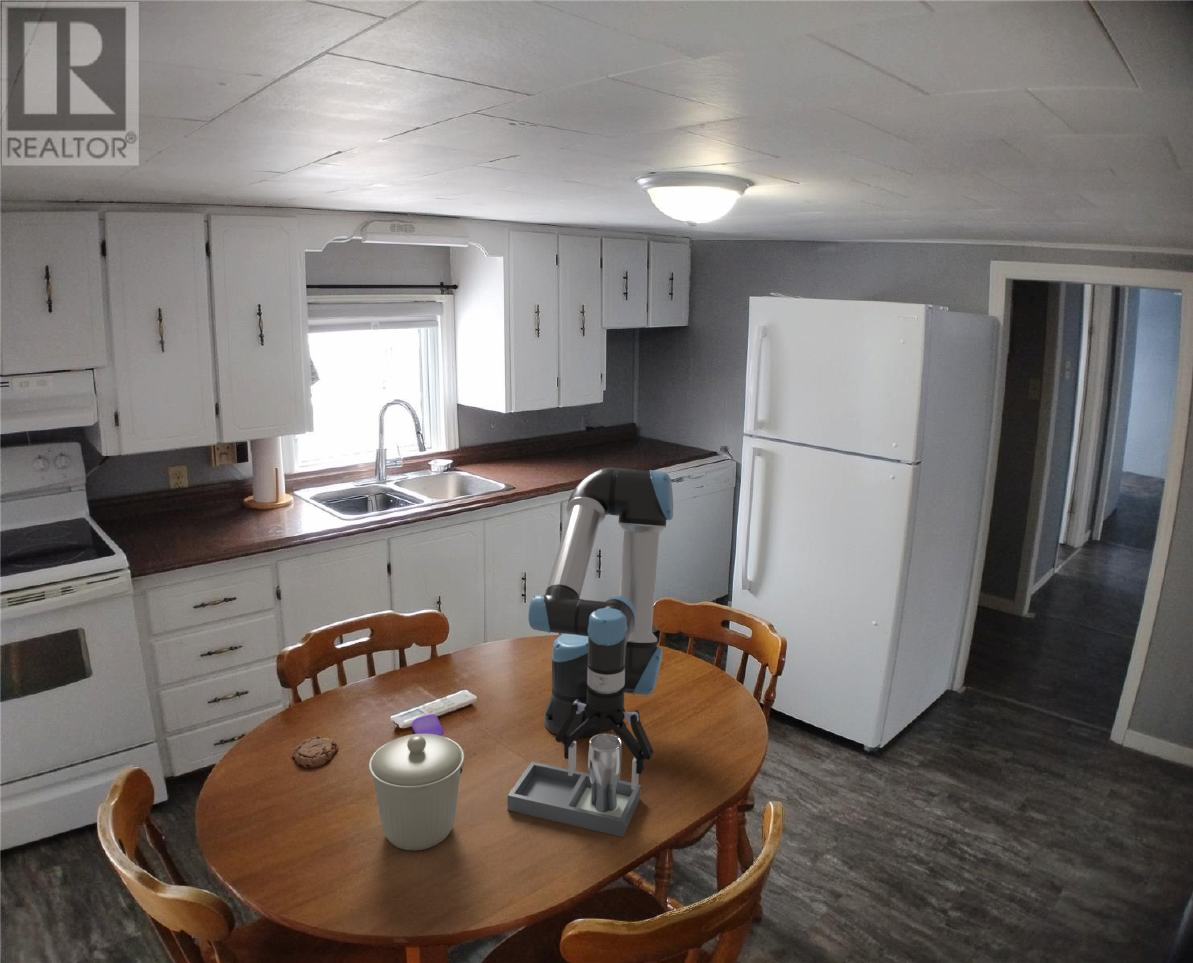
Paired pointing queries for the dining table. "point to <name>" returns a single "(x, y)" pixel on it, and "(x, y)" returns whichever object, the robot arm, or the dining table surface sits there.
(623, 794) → the grey divided tray
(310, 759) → the cookie
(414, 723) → the spatula
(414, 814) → the canister
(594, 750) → the beer glass
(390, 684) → the dining table surface
